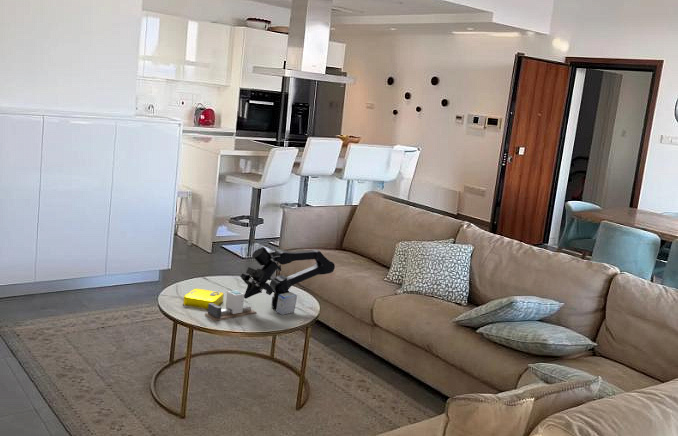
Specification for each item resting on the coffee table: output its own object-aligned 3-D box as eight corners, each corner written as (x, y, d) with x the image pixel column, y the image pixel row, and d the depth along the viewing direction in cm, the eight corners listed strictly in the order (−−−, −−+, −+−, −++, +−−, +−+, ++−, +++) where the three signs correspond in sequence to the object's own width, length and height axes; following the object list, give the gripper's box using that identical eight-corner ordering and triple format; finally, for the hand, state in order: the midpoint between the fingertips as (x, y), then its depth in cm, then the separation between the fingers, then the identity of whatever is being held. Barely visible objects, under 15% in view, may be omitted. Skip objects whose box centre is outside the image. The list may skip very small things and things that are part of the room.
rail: (244, 307, 315) (245, 297, 314) (253, 311, 310) (254, 302, 309) (207, 313, 301) (208, 303, 300) (216, 318, 296) (217, 308, 295)
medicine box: (288, 309, 321) (290, 291, 319) (294, 312, 318) (297, 294, 316) (275, 311, 315) (278, 294, 313) (282, 315, 312) (285, 297, 310)
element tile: (193, 296, 325) (194, 286, 324) (224, 301, 323) (225, 291, 322) (181, 305, 310) (182, 295, 310) (213, 310, 308) (214, 300, 308)
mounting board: (245, 308, 316) (245, 306, 316) (256, 313, 310) (256, 311, 310) (204, 315, 301) (205, 313, 300) (215, 320, 295) (215, 319, 295)
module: (234, 308, 310) (236, 289, 308) (242, 312, 306) (244, 293, 304) (225, 310, 307) (227, 290, 305) (233, 314, 302) (235, 294, 301)
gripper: (245, 255, 316) (223, 281, 310) (270, 266, 303) (247, 293, 297) (257, 270, 323) (236, 295, 317) (282, 281, 310) (260, 308, 304)
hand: (244, 298), depth 309 cm, fingers closed
